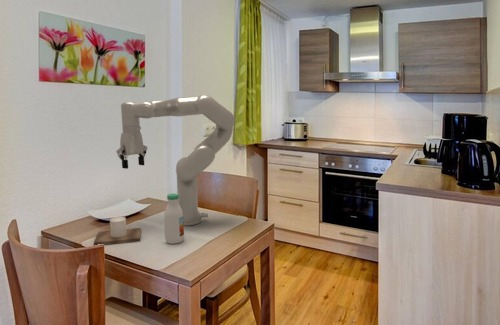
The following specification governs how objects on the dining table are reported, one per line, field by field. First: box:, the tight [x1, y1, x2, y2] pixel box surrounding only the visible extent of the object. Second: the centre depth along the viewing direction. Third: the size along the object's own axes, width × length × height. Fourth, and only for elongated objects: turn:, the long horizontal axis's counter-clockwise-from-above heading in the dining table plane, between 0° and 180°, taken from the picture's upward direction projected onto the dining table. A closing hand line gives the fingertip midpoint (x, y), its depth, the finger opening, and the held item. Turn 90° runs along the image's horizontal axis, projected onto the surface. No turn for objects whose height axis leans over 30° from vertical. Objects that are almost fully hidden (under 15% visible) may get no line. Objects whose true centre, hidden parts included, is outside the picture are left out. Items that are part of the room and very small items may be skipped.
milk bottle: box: [163, 193, 185, 245], centre depth 146 cm, size 8×8×20 cm
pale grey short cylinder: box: [109, 216, 128, 238], centre depth 150 cm, size 6×6×7 cm
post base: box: [93, 227, 142, 246], centre depth 150 cm, size 18×13×6 cm
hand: (133, 166), depth 162 cm, fingers open, 9 cm apart
